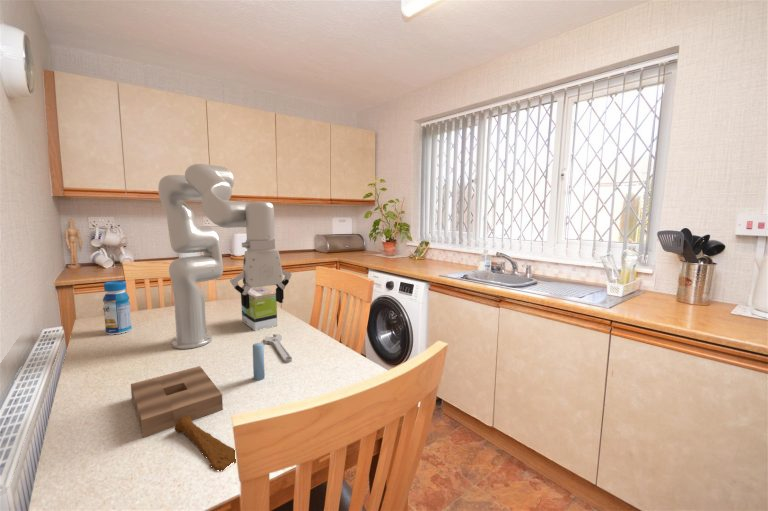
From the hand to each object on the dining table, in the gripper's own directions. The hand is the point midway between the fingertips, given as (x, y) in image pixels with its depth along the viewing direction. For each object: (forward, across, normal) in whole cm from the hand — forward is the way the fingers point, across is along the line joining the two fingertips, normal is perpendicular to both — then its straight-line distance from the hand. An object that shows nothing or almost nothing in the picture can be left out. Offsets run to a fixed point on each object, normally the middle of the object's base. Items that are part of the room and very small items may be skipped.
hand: (263, 304), depth 98 cm
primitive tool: (+22, -21, -22) cm, 38 cm away
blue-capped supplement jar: (+21, -30, +72) cm, 81 cm away
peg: (+21, -2, 0) cm, 22 cm away
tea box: (+21, +16, +47) cm, 54 cm away
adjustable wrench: (+22, +11, +17) cm, 30 cm away
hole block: (+21, -23, 0) cm, 31 cm away
